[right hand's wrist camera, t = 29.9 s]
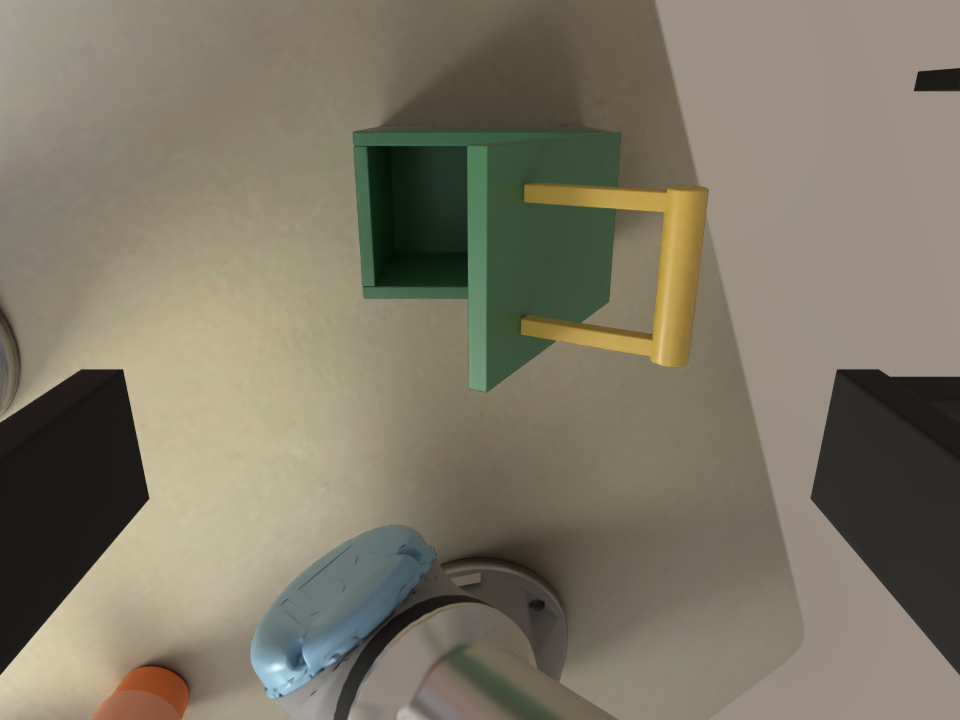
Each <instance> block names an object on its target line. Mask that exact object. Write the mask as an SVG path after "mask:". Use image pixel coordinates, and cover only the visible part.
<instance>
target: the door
mask: <svg viewBox="0 0 960 720" xmlns="http://www.w3.org/2000/svg"><path fill="white" fill-rule="evenodd" d="M620 142H621V132H599V133H588V134H577V135H566V136H556V137H545V138H534V139H523V140H512V141H501V142H490V143H479V144H469V145H468V146H467V185H468V346H469V389H473V390H477V391H482V392H488V391H489V390H491V389H492V388H494V387H495V386H496V385H498V384H499V383H500V382H502V381H503V380H504V379H506V378H507V377H508V376H510V375H511V374H512V373H514V372H515V371H516V370H518V369H519V368H520V367H522V366H523V365H525V364H526V363H527V362H529V361H530V360H531V359H533V358H534V357H535V356H537V355H538V354H539V353H541V352H542V351H543V350H545V349H546V348H547V347H549V346H550V345H552V344H553V343H554V342H556V341H562V342H568V343H574V344H580V345H586V346H592V347H598V348H604V349H610V350H615V351H621V352H627V353H633V354H639V355H645V356H650V358H651V360H652V361H653V362H654V363H656V364H659V365H663V366H669V367H677V366H683V365H686V364H687V363H688V361H689V352H690V344H691V335H692V327H693V318H694V310H695V302H696V293H697V285H698V276H699V268H700V260H701V251H702V243H703V234H704V226H705V218H706V209H707V201H708V192H709V190H708V189H707V188H705V187H700V186H670V187H668V188H667V190H659V189H641V188H623V187H617V184H618V170H619V156H620ZM616 209H627V210H641V211H655V212H664V221H663V231H662V241H661V251H660V262H659V272H658V282H657V293H656V303H655V313H654V324H653V334H647V333H641V332H634V331H628V330H621V329H615V328H608V327H602V326H595V325H589V324H583V323H581V322H583V321H584V320H585V319H587V318H588V317H589V316H591V315H592V314H593V313H595V312H596V311H597V310H599V309H600V308H601V307H603V306H604V305H606V304H607V303H608V302H609V296H610V282H611V268H612V254H613V240H614V226H615V212H616Z"/></svg>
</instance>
